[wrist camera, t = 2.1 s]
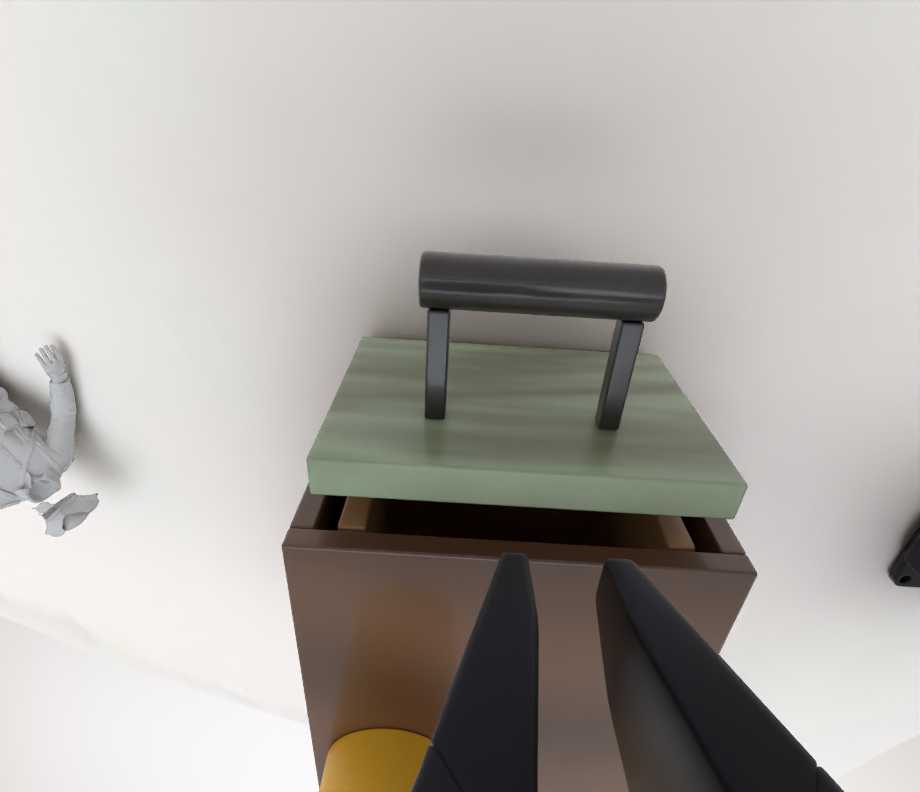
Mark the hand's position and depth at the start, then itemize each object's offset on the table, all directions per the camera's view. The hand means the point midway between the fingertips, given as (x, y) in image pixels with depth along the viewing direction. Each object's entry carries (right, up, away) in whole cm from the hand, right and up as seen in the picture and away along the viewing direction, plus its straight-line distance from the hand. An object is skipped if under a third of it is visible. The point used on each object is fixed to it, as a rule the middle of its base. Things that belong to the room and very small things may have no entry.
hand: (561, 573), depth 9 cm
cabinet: (0, -2, +16) cm, 17 cm away
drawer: (0, +1, +13) cm, 13 cm away
